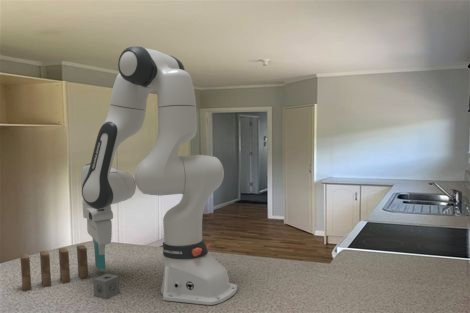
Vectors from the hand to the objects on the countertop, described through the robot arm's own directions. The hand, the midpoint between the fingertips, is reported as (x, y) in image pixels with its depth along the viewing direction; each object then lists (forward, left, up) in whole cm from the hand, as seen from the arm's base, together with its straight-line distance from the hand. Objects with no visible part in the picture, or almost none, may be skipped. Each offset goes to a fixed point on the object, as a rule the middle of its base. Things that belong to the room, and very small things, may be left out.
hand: (99, 252), depth 136 cm
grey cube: (-16, +12, -8) cm, 22 cm away
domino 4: (+3, +5, -7) cm, 9 cm away
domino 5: (0, 0, -5) cm, 5 cm away
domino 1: (+11, +19, -7) cm, 23 cm away
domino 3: (+5, +10, -7) cm, 13 cm away
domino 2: (+8, +14, -7) cm, 18 cm away
